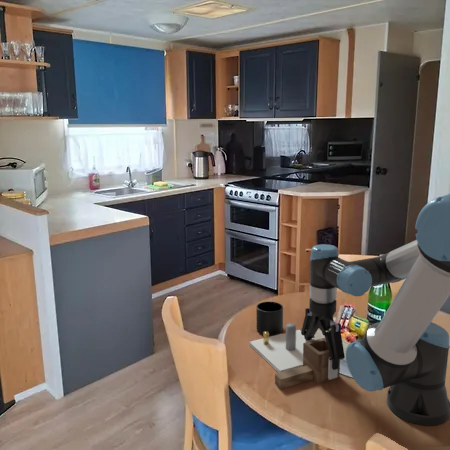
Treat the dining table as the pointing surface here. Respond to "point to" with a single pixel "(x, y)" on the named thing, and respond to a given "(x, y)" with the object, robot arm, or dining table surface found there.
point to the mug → (269, 317)
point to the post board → (282, 349)
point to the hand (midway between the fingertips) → (320, 368)
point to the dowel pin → (266, 337)
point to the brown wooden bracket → (308, 366)
